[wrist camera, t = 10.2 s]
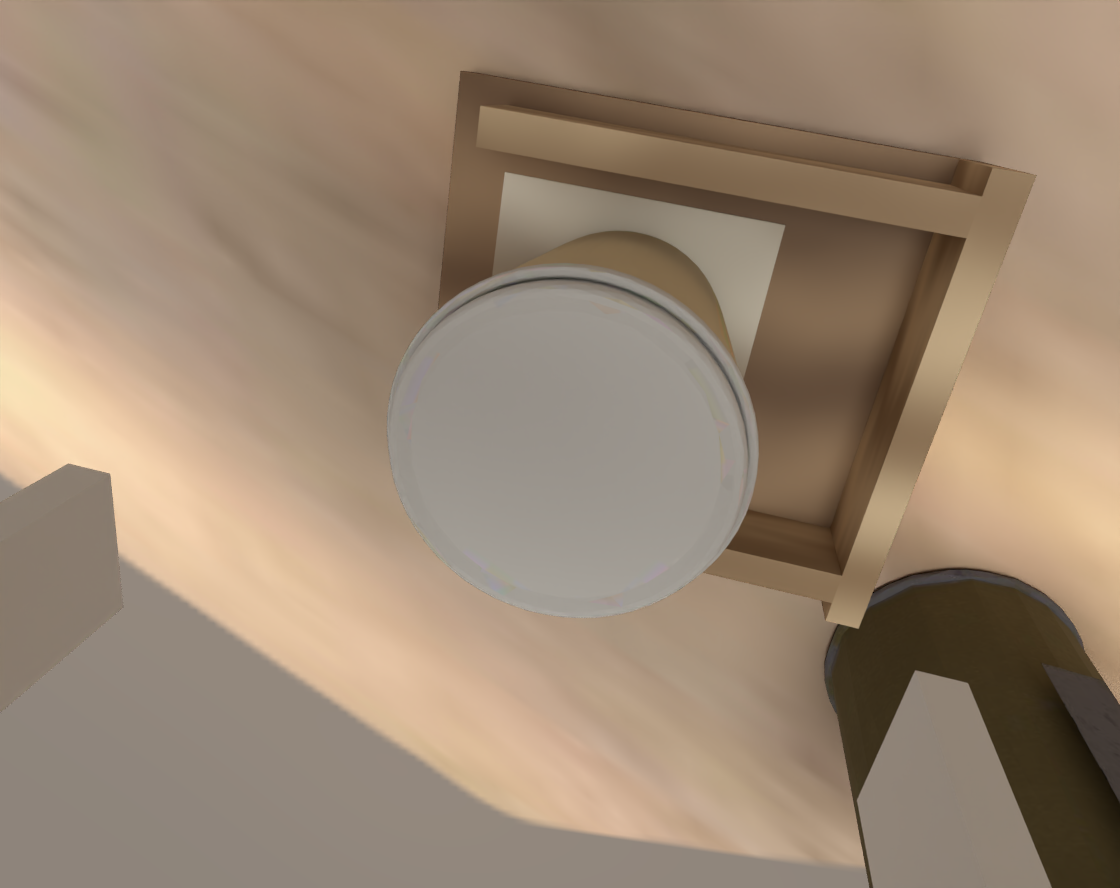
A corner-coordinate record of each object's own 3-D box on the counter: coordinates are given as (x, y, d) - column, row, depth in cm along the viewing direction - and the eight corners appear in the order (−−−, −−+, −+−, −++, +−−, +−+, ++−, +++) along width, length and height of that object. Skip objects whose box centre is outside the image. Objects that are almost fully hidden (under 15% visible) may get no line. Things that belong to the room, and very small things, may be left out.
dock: (473, 72, 29) (426, 67, 24) (983, 162, 27) (1036, 175, 22) (433, 463, 35) (391, 517, 31) (840, 557, 34) (858, 628, 29)
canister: (1014, 788, 37) (1300, 1461, 19) (791, 722, 37) (856, 1302, 19) (1137, 600, 32) (1675, 1249, 14) (879, 528, 33) (1071, 1054, 15)
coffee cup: (503, 441, 33) (394, 611, 22) (492, 204, 29) (354, 267, 18) (736, 455, 31) (744, 647, 20) (756, 205, 27) (778, 276, 16)
